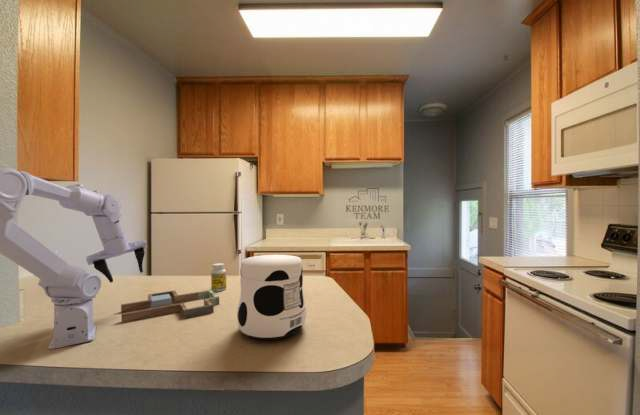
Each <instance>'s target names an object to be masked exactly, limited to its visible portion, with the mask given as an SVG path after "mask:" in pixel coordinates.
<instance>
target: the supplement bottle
mask: <svg viewBox="0 0 640 415" xmlns="http://www.w3.org/2000/svg"><path fill="white" fill-rule="evenodd" d="M210 275H211V277H210V282H211V283H210V284H211V286H210V287H211V289H210V290H212V291H213V292H223V291H225V290H227V270H226V269H225V263H223V262H221V263H218V262H217V263H213V264H212V270H211V272H210Z"/></svg>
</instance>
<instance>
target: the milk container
mask: <svg viewBox="0 0 640 415" xmlns="http://www.w3.org/2000/svg"><path fill="white" fill-rule="evenodd" d="M239 269H240V277H239V278H240V281H239V282H240V283H239V284H240V297H239V301H238V305H237V310H236V320H237V325H238V329H239V330H240V332H241V334H243V335H246V336H247V337H249V338H251V339H256V340H262V341H263V340H264V341H265V340H267V341H271V340H278V339H284V338H287V337H290V336H293V335H294V334H297V333H298V332H299V331H300V330H301V329H302V328H303V327H304V325H305V324H306V323H305V322H306V318H307V306H306V301H305V297H304V293H303V292H304V291H303V290H304V289H303V286H304V285H303V278H304V276H303V262H302V258H301V257H299V256H296V255H292V254H291V255H289V254H262V255H261V254H260V255H254V256H250V257H246V258H243V259H242V260H241V263H240V268H239Z"/></svg>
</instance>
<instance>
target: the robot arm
mask: <svg viewBox="0 0 640 415" xmlns="http://www.w3.org/2000/svg"><path fill="white" fill-rule="evenodd" d="M25 196H36V197H40V198H44V199H49V200H53V201H57V202H58V204H59V205H60V206H61V207H62V208H65V209H69V210H73V211H77V212H81V213H84V215H85V216H87V217H91V218H92V221H93V224H94V226H95V228H96V231H97V234H98V236H99V239H100V242H101V245H102V247H103V250H100V251H98V252H95V253H93V254H90V255H86V257H85V259H86V262H87V264H88V266H90V265H93V268H94V269H95V270H97V271H98V272H100V273H101V274H102V275H103V276H105V278H107V281H109V283H110V284H111V283H114V278H113V276H112V273H111V271H110V269H109V267H108V264H107V260H108V259H112V258H115V257H119V256H122V255H125V254H128V253H132V252H134V256H135V259H136V262H137V265H138V269H139V272H140V273H141V274H142V273H143V272H144V269H143V262H144V258H145V253H146V252H145V249H148V244H147V240H146V239H144V240H139V241H133V242H128V240H127V236H126V234H125V231H124V228H123V225H122V222H121V213H120V212H121V201H119V200H118V199H117V198H116V197H115V196H114V195H112V194H101V193H100V191H99V190H90V189H87V188H85V186H84V185H83V184H78V183H77V184H70V185H67V186H62V185H60V184H56V183H54V182H51V181H49V180H46V179H43V178H40V177H37V176H36V175H32V174H30V173H29V172H27V171H24V170H23V171H22V170H17V169H14V168H10V167H0V254H1V255H3V256H4V257H6V258H7V259H8V260H10V261H12V262H14V263H15V264H17V265H18V266H20V267H21V268H23V269H24V270H26V271H28V272H29V273H30V274H32V275H33V276H35V277H36V278H38V279H39V281H38V284H37V285H38V286H40V287H41V288H42V289H43V291H44V293H45V295H46V296H47V297H48V298H50V299H51V303H53V337H52V339H51V341H50V343H49V345H48V346H47V347H48V348H47V350H55V349H59V348H62V347H63V348H64V347H68V346H72V345H78V344H82V343H88V342H91V341H94V340H95V335H96V330H97V329H96V328H97V325H95V324H94V299H96V297H97V295H98V293H99V292H100V290H101V288H102V279H101V276H100V274H99V273H96V272H94V271H93V272H91V271H87V270H86V268H83V267H79V266H76V265H73V264H70V263H68V262H67V261H66V260H65V259H63V258H62V257H61V256H59V255H58V254H57V253H56V252H54V251H53V250H51V249H50V248H49V247H48V246H46V245H45V243H43V242H41V241H40V240H38V239H37V238H36V237H34V236H33V235H32V234H31V233H29V232H28V231H27V230H25V229H24V228H23V227H22V226H20V225H19V224H18V223H16V221H14V220H13V219H14V218H15V217H16V216H17V213H18V211H19V208H20V207H21V204H22V202H23V201H24V198H25Z"/></svg>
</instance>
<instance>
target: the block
mask: <svg viewBox="0 0 640 415" xmlns="http://www.w3.org/2000/svg"><path fill="white" fill-rule="evenodd" d="M168 305H172V298H171V296H170V295H169V294H165V295H158V296H152V297H151V308H156V307H162V306H168ZM151 308H150V309H151Z"/></svg>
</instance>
